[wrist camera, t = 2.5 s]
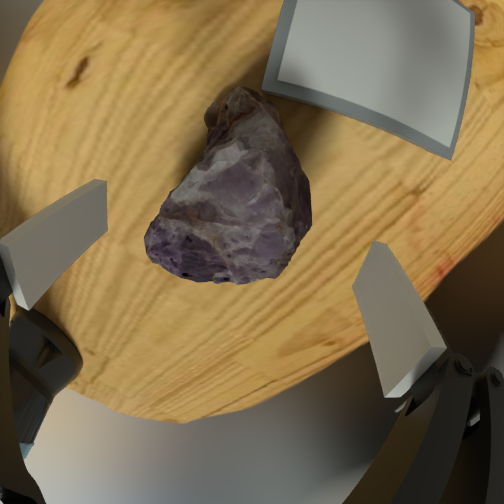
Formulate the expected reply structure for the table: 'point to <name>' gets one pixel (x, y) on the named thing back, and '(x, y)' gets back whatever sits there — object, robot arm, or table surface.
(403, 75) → the grey flat square block
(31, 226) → the robot arm
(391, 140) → the table surface
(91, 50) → the table surface
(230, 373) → the table surface
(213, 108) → the rock
